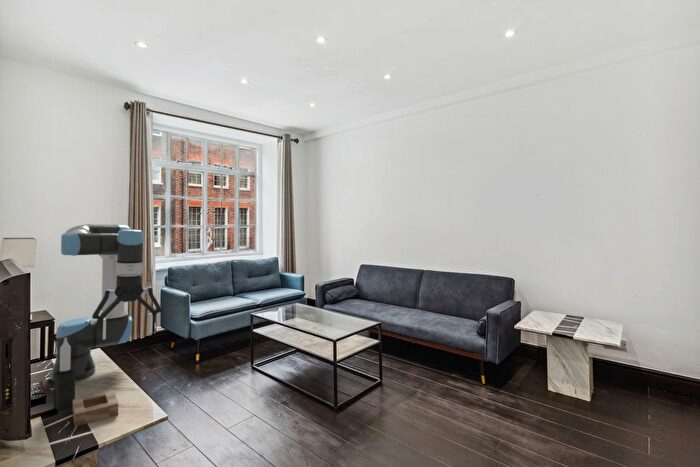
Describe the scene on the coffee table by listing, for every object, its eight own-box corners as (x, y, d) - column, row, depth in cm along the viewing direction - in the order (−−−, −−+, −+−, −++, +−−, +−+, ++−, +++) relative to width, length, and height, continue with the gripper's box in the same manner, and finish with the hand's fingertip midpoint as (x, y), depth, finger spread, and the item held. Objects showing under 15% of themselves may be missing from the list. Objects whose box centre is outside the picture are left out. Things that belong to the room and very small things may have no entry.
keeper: (72, 410, 123) (72, 399, 123) (113, 400, 131) (113, 389, 131) (74, 426, 114) (74, 414, 114) (118, 414, 122) (118, 403, 122)
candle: (76, 405, 127) (77, 337, 126) (58, 411, 122) (59, 341, 121) (69, 401, 129) (70, 334, 128) (52, 407, 125) (53, 338, 124)
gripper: (83, 278, 110) (82, 344, 111) (171, 274, 125) (169, 332, 126) (84, 274, 116) (83, 337, 117) (168, 271, 131) (166, 327, 132)
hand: (128, 335), depth 122 cm, fingers open, 13 cm apart
